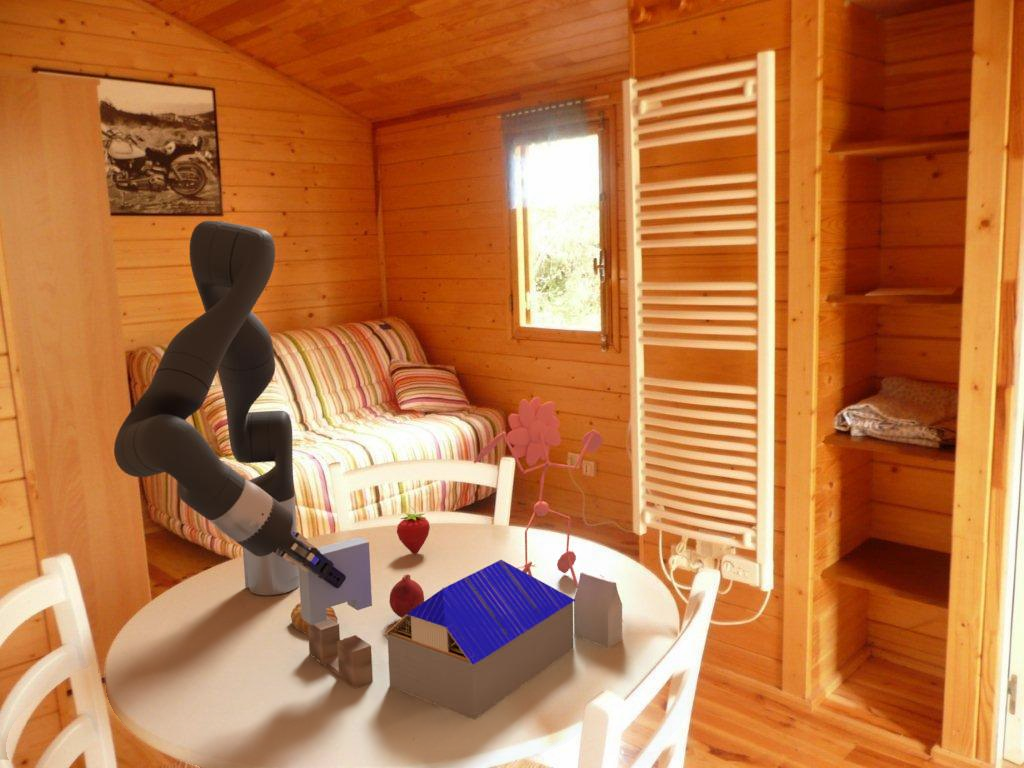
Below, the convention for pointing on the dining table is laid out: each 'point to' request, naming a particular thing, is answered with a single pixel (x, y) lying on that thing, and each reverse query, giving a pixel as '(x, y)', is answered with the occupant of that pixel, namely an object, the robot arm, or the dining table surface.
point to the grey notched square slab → (354, 590)
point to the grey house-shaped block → (597, 611)
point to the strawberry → (413, 531)
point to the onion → (406, 596)
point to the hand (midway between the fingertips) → (335, 578)
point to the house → (480, 639)
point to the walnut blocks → (341, 653)
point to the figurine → (540, 456)
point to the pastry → (302, 624)
